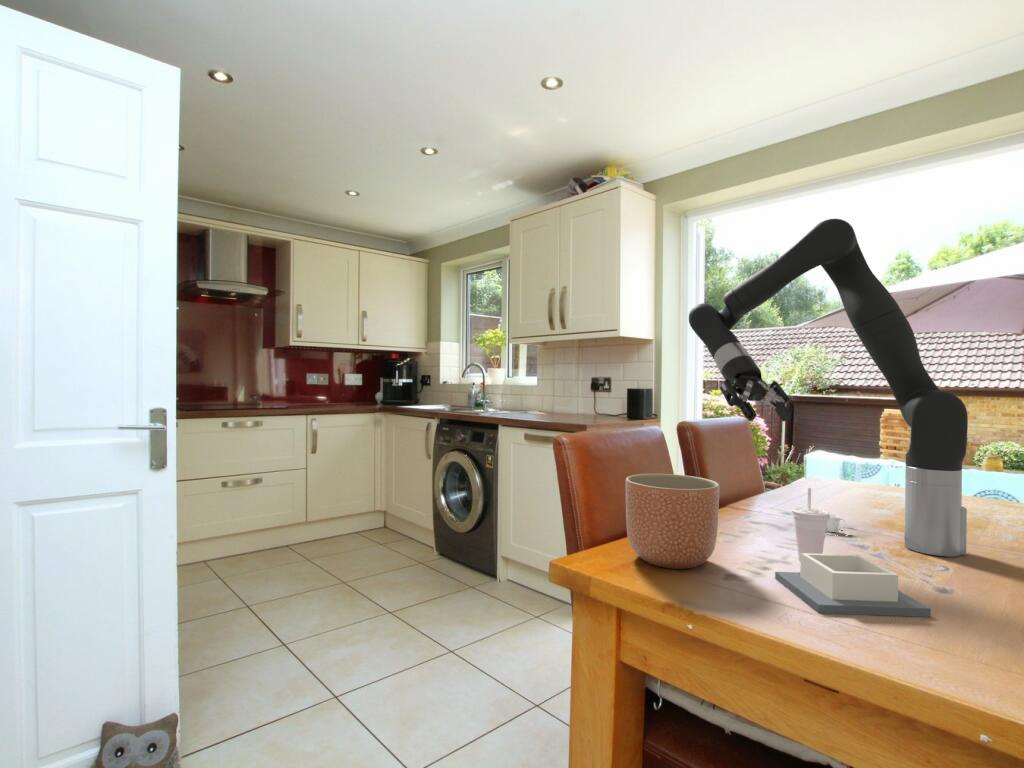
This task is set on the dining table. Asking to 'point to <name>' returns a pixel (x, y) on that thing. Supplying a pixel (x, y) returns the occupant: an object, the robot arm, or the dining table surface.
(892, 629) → the dining table surface
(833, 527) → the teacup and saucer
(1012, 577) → the dining table surface
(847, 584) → the socket board
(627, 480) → the planter
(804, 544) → the smoothie
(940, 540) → the robot arm
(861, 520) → the dining table surface
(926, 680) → the dining table surface
